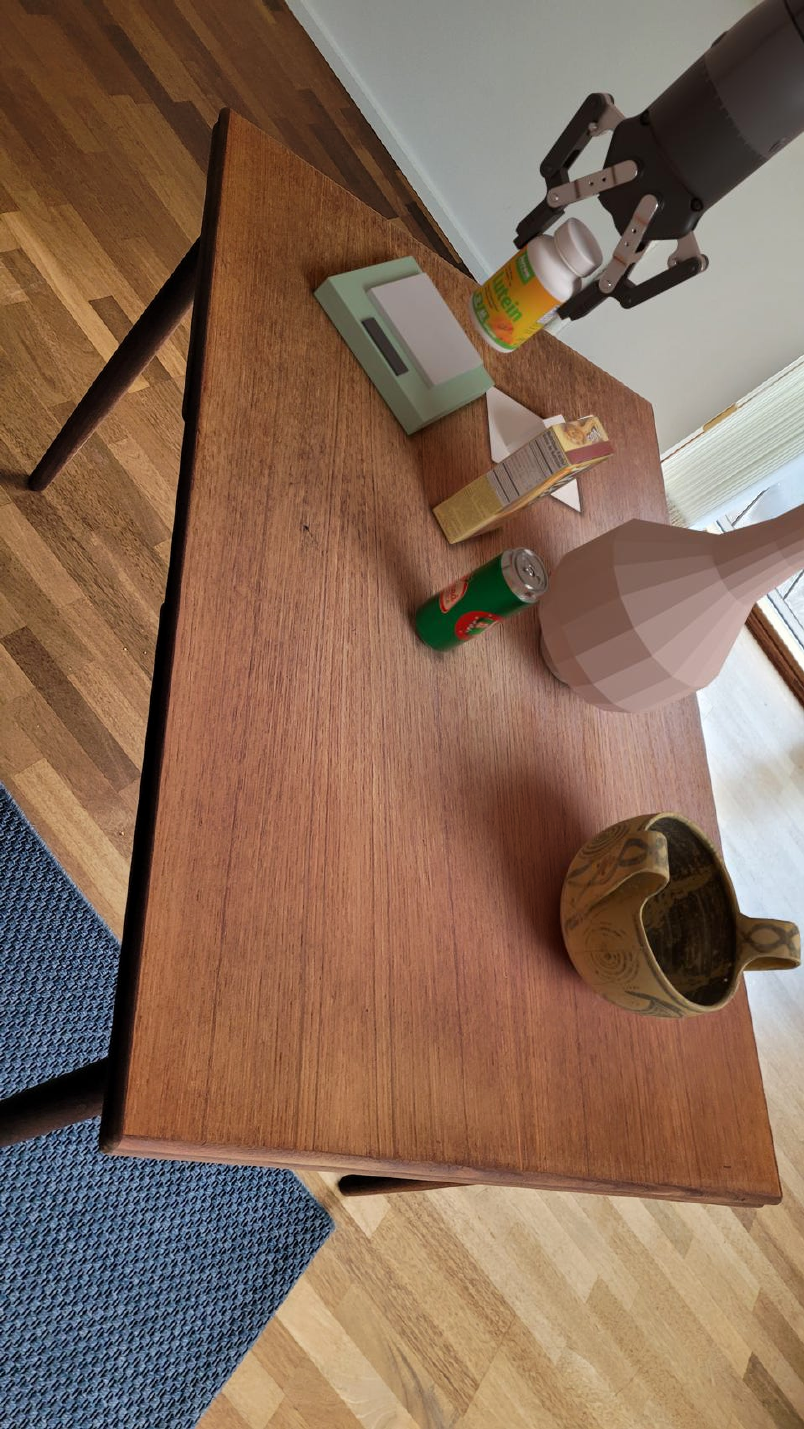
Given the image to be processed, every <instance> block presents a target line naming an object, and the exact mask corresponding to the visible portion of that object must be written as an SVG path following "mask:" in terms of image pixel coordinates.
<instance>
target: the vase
mask: <svg viewBox="0 0 804 1429" xmlns="http://www.w3.org/2000/svg"><path fill="white" fill-rule="evenodd" d="M802 570H804V502H803V503H801V504H800V505H798V506H795V507H794V508H791V509H790V510H788V511H785V512H784V513H782V514H780V515H778V516H776V517H772V518H770V519H769V518H768V519H767V520H763V521H760V522H757V523H756V522H755V523H753V524H749V525H746V526H743V527H738V528H736V529H733V530H728V531H725V532H721V533H713V532H710V531H709V532H708V531H703V530H697V529H692V528H687V527H682V526H677V525H671V524H665V523H660V522H656V521H650V520H644V519H639V518H631V519H629V520H628V521H625V522H624V523H622V524H619V525H617V526H616V527H614V528H611V529H610V530H608V531H606V532H604V533H602V534H600V535H599V536H596V537H595V538H593V539H591V540H589V541H587V542H585V543H583V544H581V545H579V546H577V547H576V548H573V549H572V550H570V551H568V552H566V553H564V555H563V556H562V558H561V559H560V561H559V562H558V564H557V565H556V566H555V568H554V570H553V571H552V572H551V574H550V576H548V589H547V591H546V592H545V593H544V594H543V595H541V598H540V600H539V607H538V617H539V622H540V623H539V624H540V627H541V635H540V643H539V645H540V649H541V654H542V657H543V659H544V662H545V664H546V666H547V667H548V669H549V670H550V672H551V673H552V674H553V676H554V677H556V678H557V679H558V680H559V681H561V682H562V683H565V684H567V686H568V687H569V688H570V689H571V690H572V691H573V692H574V693H576V695H578V697H580V698H581V699H582V700H583V701H584V702H585V703H586V704H588V705H590V706H593V707H594V708H597V709H599V710H601V711H603V712H610V713H611V712H613V713H620V714H621V713H622V714H632V715H633V714H647V713H648V714H649V713H652V712H655V711H657V710H659V709H662V708H663V707H665V706H668V705H670V704H673V703H674V702H677V701H679V700H681V699H684V698H686V697H688V696H689V695H692V694H694V693H696V692H699V691H701V690H703V689H705V688H707V687H709V685H710V684H712V682H714V680H716V679H717V677H718V676H719V674H720V673H721V670H722V668H723V666H724V665H725V663H726V661H727V659H728V656H729V655H730V653H731V651H732V650H733V646H734V645H735V643H736V641H737V639H738V638H739V636H740V634H741V631H742V629H743V627H744V625H745V623H746V621H747V620H748V617H749V615H750V613H751V611H752V609H753V607H754V606H755V604H756V603H758V601H760V600H762V598H764V597H765V596H766V595H769V593H771V592H772V591H773V590H775V589H777V588H778V587H779V586H781V585H783V583H785V582H786V581H788V580H789V579H791V578H792V577H793V576H795V575H796V574H797V573H799V572H800V571H802Z"/></svg>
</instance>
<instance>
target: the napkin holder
mask: <svg viewBox="0 0 804 1429" xmlns="http://www.w3.org/2000/svg"><path fill="white" fill-rule="evenodd" d="M485 393H486V405H487V417H488V427H489V428H488V430H489V440H490V441H489V442H490V452H491V453H490V454H491V461H493V462H495V463H496V464H498V463H499V462H501V461H502V460H503V459H505V458H506V457H508V456H509V455H511V454H512V453H513V452H515V451H516V450H518V449H519V448H521V447H522V446H524V445H525V444H526V443H528V442H529V441H531V440H532V439H533V438H535V437H536V436H538V435H539V434H540V433H542V432H543V431H545V430H546V429H547V428H549V427H550V426H551V425H556V424H561V423H566V422H567V421H566V420H565V418H564V417H563V415H562V414H561V413H560V414H558V415H554V416H551V417H547V418H545V419H543V418H541V417H540V416H539V415H537V414H536V413H534V412H533V411H531V410H530V409H528V408H526V407H525V406H523V405H522V404H520V403H519V402H517V401H516V400H514V399H513V398H511V397H510V396H508V395H506V394H505V393H504V392H502V391H501V390H499V389H497V388H496V387H495V386H492V387H491V388H490V389H489V390H488V391H486V392H485ZM588 417H595V416H594V414H589V415H586V416H584V417H581V418H578V419H577V420H579V419H584V418H588ZM550 496H552V497H554V498H556V499H558V500H559V501H561V502H562V503H564V504H566V505H567V506H569V507H571V508H572V509H574V510H576V511H577V512H579V513H581V504H580V499H579V498H580V497H579V488H578V483H577V478H576V479H574V480H573V481H571V482H570V483H568V484H566V485H565V486H563V487H561V488H560V489H558V490H557V491H555V492H553V493H552V494H550Z"/></svg>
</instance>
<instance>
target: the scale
mask: <svg viewBox="0 0 804 1429" xmlns="http://www.w3.org/2000/svg"><path fill="white" fill-rule="evenodd" d="M313 295H314V297H315V298H316V300H317V301H318V303H319V304H320V306H321V307H322V309H323V310H324V312H325V313H326V314H327V316H328V318H329V319H330V321H331V322H332V323H333V326H334V327H335V328H336V330H337V332H338V333H339V334H340V336H341V337H342V339H343V340H344V342H345V343H346V345H347V346H348V348H349V349H350V350H351V352H352V353H353V355H354V357H355V358H356V360H357V361H358V363H359V364H360V365H361V367H362V369H363V371H365V373H366V374H367V377H368V378H369V380H371V382H372V384H374V386H375V388H376V389H377V391H378V393H379V394H380V396H381V397H382V399H383V400H384V401H385V403H386V405H387V406H388V408H389V409H390V410H391V412H392V413H393V415H394V416H395V418H396V419H397V421H398V422H399V424H400V425H401V427H402V428H403V429H404V431H405V433H406V434H407V436H410V435H412V434H414V433H415V432H417V431H419V430H421V429H424V428H425V427H427V426H429V425H431V424H432V423H434V422H436V421H437V420H440V419H441V418H443V417H445V416H448V415H449V414H451V413H452V412H455V411H456V410H459V409H461V408H462V407H464V406H466V405H467V404H470V403H471V402H473V401H475V400H476V399H478V398H481V397H482V396H483V395H484V394H485V393H486V391H488V390H489V389H490V388H491V387H492V386H493V387H495V385H496V383H495V382H494V380H493V379H492V377H491V376H490V374H489V373H488V371H487V369H486V368H485V366H484V364H483V363H484V360H483V358H482V357H481V356H480V354H479V353H478V351H477V349H476V347H475V346H474V345H473V343H472V342H471V340H470V339H469V337H468V335H467V334H466V332H465V331H464V329H463V328H462V326H461V324H460V322H458V320H457V318H456V317H455V315H454V314H453V313H452V310H451V309H450V308H449V306H448V305H447V303H446V302H445V299H444V298H443V297H442V295H441V293H440V292H439V290H438V289H437V287H436V286H435V284H434V283H433V280H432V279H431V278H430V276H429V275H428V273H427V272H426V271H424V272H423V270H422V268H421V267H420V266H419V264H418V262H417V261H416V259H415V257H414V256H413V255H407V256H404V257H401V258H397V259H392V260H388V261H385V262H380V263H378V264H374V265H370V266H366V267H361V268H358V269H355V270H351V271H346V272H343V273H339V274H335V275H332V276H328V277H327V278H326V279H325V280H323V282H322V283H321V284H320V285H319V286H318V288H316V290H314V292H313Z"/></svg>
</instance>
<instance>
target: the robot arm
mask: <svg viewBox="0 0 804 1429" xmlns="http://www.w3.org/2000/svg"><path fill="white" fill-rule="evenodd" d="M609 131H611V132H612V135H611V138H610V142H609V146H608V149H607V152H606V156H605V159H604V162H603V165H602V169H601V170H598V171H595V172H592V173H590V174H586V175H584V176H582V177H579V178H576V179H574V180H572V181H571V180H570V175H569V171H570V169H571V168H572V167H573V165H574V164H575V162H576V161H577V160H578V159H579V156H580V155H582V152H584V150H585V148H586V147H587V146H588V145H589V143H590V141H591V140H592V139H593V138H599V137H603V136H605V135H606V134H607V132H609ZM803 133H804V0H762V1H761V2H760V3H759V4H757V5H755V6H754V7H753V8H752V9H750V10H749V11H748V12H747V13H746V14H745V15H743V16H742V17H741V18H740V19H738V21H736V23H734V24H733V25H732V26H731V27H730V28H729V29H727V30H724V31H723V32H722V33H721V34H720V35H719V36H718V37H717V38H716V39H715V40H714V41H712V43H711V46H709V48H708V49H707V50H706V51H705V52H703V54H701V56H699V57H698V58H697V59H696V60H695V61H694V62H693V63H692V64H691V65H690V66H689V67H688V68H687V69H686V70H684V72H683V73H682V74H681V75H679V77H677V79H675V80H674V82H672V83H671V84H670V85H669V86H668V87H667V88H666V89H665V90H664V91H663V92H662V93H660V95H658V97H657V98H656V99H654V100H653V101H652V102H651V103H650V104H649V105H648V106H647V107H646V108H645V109H644V110H643V111H641V112H640V113H638V114H637V115H634V116H631V117H626V116H625V115H624V114H623V113H622V111H620V110H619V108H617V107H616V105H615V99H614V96H613V95H612V94H611V93H607V92H592V93H590V94H589V95H587V97H586V98H585V99H584V100H583V102H582V103H581V105H580V106H579V108H578V110H577V111H576V112H575V114H574V115H573V117H572V118H571V119H570V121H569V122H568V124H567V125H566V127H565V128H564V130H562V133H560V135H559V137H558V138H557V139H556V141H555V142H554V144H553V145H552V147H551V148H550V150H549V151H548V153H547V154H546V155H545V157H544V159H543V160H542V161H541V163H540V164H539V174H540V176H541V177H542V178H543V179H544V182H545V187H546V194H545V196H544V198H543V200H541V201H540V203H538V204H537V205H536V206H535V207H534V208H533V209H532V210H531V211H530V212H529V213H528V214H527V215H526V216H525V217H524V218H523V219H522V220H520V222H519V223H518V224H517V226H516V227H515V230H514V231H515V232H516V234H517V236H516V237H515V238H514V239H513V240H512V243H513V245H514V246H515V248H516V250H517V251H519V250H521V249H522V248H523V247H524V246H525V245H526V244H527V243H528V242H529V241H530V240H532V239H533V238H534V237H536V236H537V235H541V234H545V233H546V232H547V231H548V230H549V229H550V228H551V227H552V226H553V225H554V224H555V223H556V222H558V221H559V219H561V218H562V217H563V216H564V215H565V214H566V211H565V209H567V207H569V205H572V204H575V203H578V202H580V201H584V200H586V199H590V198H593V197H596V196H597V197H596V198H597V200H598V201H599V203H600V204H601V206H602V208H603V209H605V211H607V213H609V214H610V215H611V218H612V222H613V225H614V228H615V229H616V231H617V233H618V234H619V237H620V240H619V241H618V243H617V244H616V247H615V248H614V250H613V252H612V257H611V258H610V261H609V262H608V265H607V266H606V268H605V270H604V271H603V274H602V276H601V277H600V278H598V279H595V280H593V281H592V282H591V283H589V284H588V285H587V286H586V287H585V288H583V289H581V292H580V293H579V294H578V295H576V296H575V297H574V298H573V299H572V300H570V301H569V302H568V303H567V304H566V305H564V306H563V307H562V308H561V309H560V310H559V311H558V312H557V313H558V314H557V315H558V316H559V318H560V320H561V321H564V320H567V319H569V320H570V321H571V322H574V321H577V320H580V319H582V318H585V317H586V316H588V315H589V314H590V313H591V312H592V311H594V310H595V309H596V308H598V307H599V306H600V305H601V304H603V303H604V302H605V301H606V300H608V298H612V299H614V300H615V301H617V302H618V304H619V305H620V307H621V308H622V309H623V310H630V309H633V308H634V307H637V306H640V305H641V304H643V303H645V302H647V301H649V300H651V299H652V298H655V297H657V296H658V295H660V294H662V293H665V292H666V291H669V290H670V289H672V288H674V287H676V286H678V285H681V284H682V283H684V282H686V281H688V280H690V279H692V278H694V277H696V276H699V275H700V274H702V273H704V272H706V271H707V269H708V268H709V265H710V260H709V257H708V256H707V255H706V254H704V253H701V249H700V247H699V244H698V242H697V238H696V236H695V233H694V231H695V230H696V229H697V226H698V225H699V222H700V220H701V219H702V217H703V216H704V214H705V213H706V212H707V211H709V209H711V208H712V207H714V206H715V205H716V204H717V203H719V201H721V200H722V199H723V198H724V197H725V196H727V195H728V194H729V193H731V191H734V189H735V188H737V187H738V186H740V185H741V183H743V182H744V181H746V179H748V178H749V177H750V176H751V175H753V174H754V173H755V172H756V171H757V170H759V169H760V168H761V167H762V166H764V165H765V164H766V163H767V162H769V161H770V160H772V158H774V156H776V155H777V154H778V153H779V152H780V151H782V150H783V149H784V148H785V147H787V146H788V145H790V143H791V142H793V141H794V140H795V139H797V138H798V137H799V136H801V135H802V134H803ZM652 241H653V242H655V241H656V242H657V241H677V245H676V249H675V250H674V251H673V253H671V254H670V255H669V256H668V258H667V261H666V265H667V269H665V270H664V271H662V272H660V273H657V274H655V275H654V276H652V277H650V278H647V279H646V280H644V281H642V282H641V283H638V284H636V283H634V282H633V281H632V280H630V279H629V278H630V276H631V274H632V273H633V272H634V270H635V267H636V266H637V264H638V263H639V262H640V261H641V259H642V258H643V256H644V255H645V254H646V252H647V250H648V248H649V246H650V244H651V243H652Z"/></svg>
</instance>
